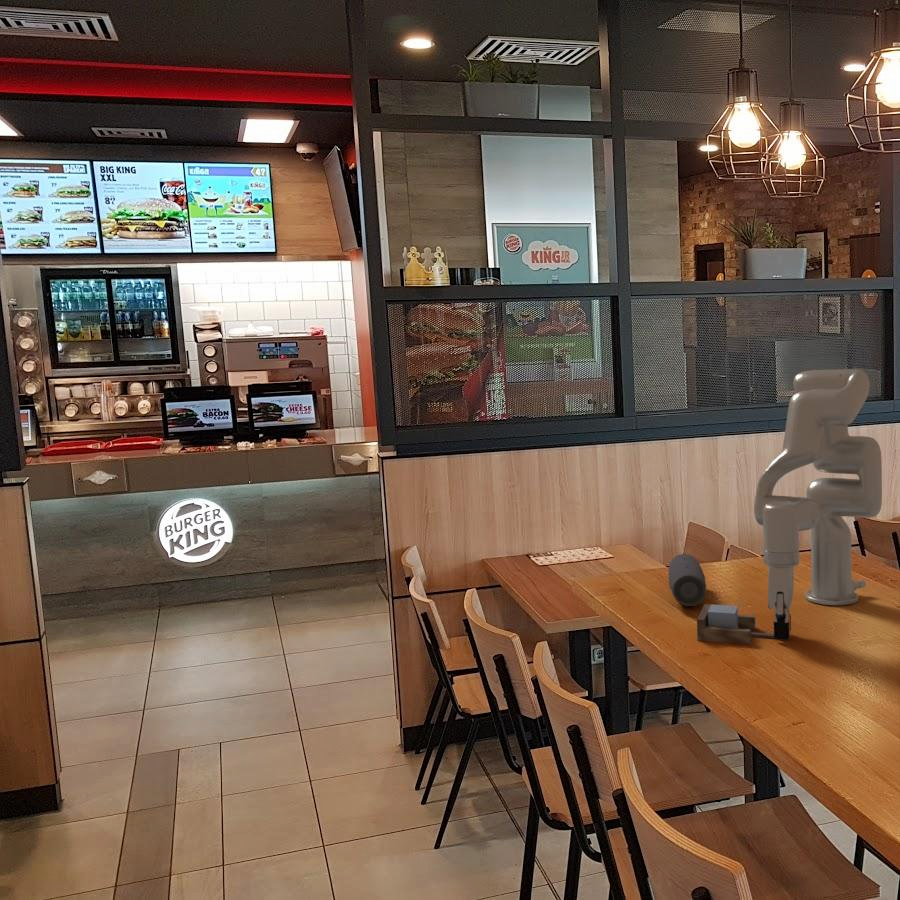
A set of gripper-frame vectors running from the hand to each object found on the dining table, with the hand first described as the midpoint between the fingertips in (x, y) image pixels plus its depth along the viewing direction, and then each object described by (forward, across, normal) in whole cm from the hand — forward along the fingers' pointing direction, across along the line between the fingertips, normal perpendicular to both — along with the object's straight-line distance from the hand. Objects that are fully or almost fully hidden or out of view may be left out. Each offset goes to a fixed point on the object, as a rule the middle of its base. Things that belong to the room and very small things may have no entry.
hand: (782, 634), depth 203 cm
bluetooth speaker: (+1, -27, -26) cm, 37 cm away
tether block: (+1, 0, -7) cm, 7 cm away
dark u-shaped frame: (+1, 0, -12) cm, 12 cm away
